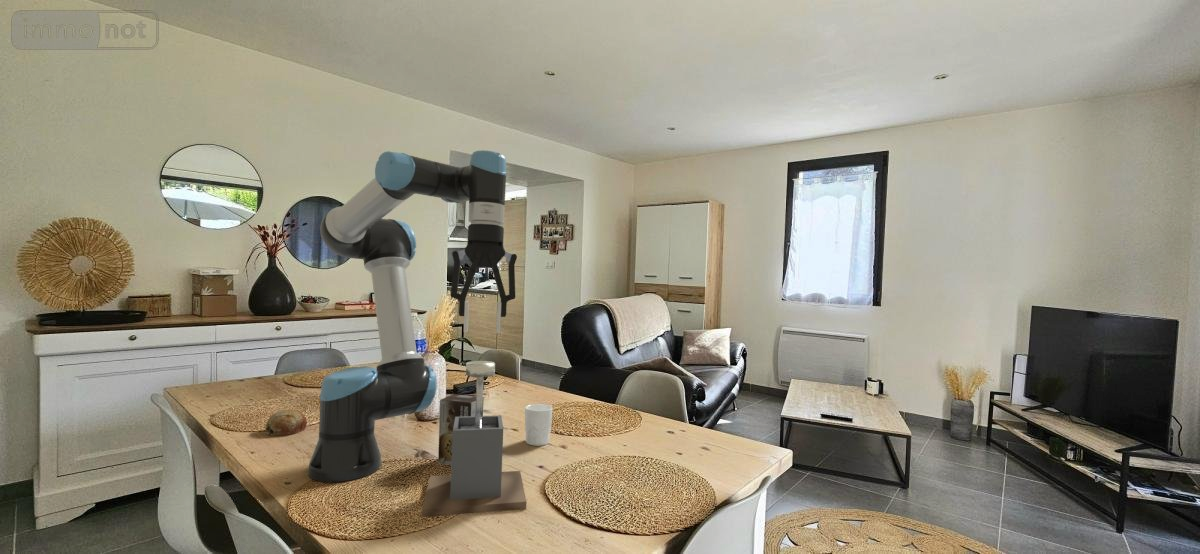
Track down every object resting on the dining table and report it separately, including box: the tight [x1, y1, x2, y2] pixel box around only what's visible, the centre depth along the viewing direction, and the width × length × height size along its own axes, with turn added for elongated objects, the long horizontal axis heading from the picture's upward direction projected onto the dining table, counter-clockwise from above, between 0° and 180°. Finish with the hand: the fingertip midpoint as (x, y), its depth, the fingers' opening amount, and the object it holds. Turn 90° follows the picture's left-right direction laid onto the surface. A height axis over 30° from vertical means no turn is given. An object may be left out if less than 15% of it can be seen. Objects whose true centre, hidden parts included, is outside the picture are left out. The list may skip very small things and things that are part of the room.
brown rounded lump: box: [265, 409, 308, 437], centre depth 139 cm, size 10×10×8 cm
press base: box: [421, 470, 527, 518], centre depth 102 cm, size 20×16×2 cm
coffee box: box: [437, 393, 485, 466], centre depth 120 cm, size 9×6×16 cm
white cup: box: [524, 403, 553, 447], centre depth 137 cm, size 8×8×10 cm
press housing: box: [450, 414, 504, 501], centre depth 102 cm, size 10×10×14 cm
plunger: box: [460, 360, 496, 429], centre depth 102 cm, size 8×8×15 cm
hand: (482, 331), depth 102 cm, fingers open, 6 cm apart
